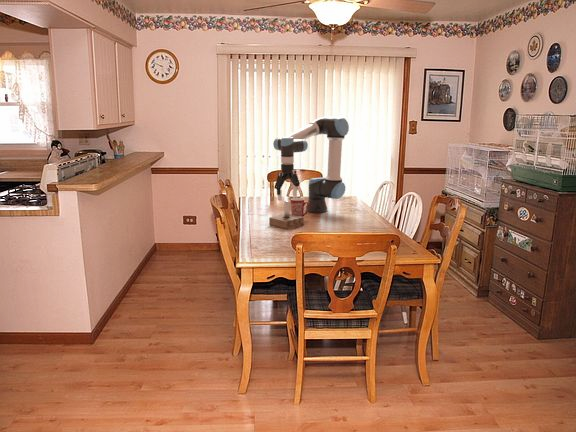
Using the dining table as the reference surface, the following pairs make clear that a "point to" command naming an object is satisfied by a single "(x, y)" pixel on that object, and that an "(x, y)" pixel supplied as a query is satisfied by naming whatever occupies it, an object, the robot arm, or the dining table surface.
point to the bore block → (286, 221)
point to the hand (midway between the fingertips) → (287, 198)
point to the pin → (286, 209)
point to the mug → (298, 206)
